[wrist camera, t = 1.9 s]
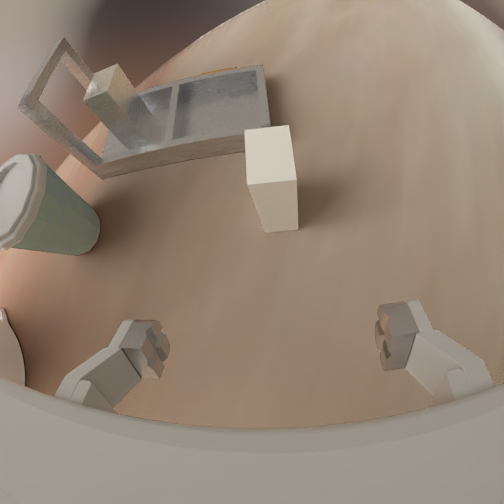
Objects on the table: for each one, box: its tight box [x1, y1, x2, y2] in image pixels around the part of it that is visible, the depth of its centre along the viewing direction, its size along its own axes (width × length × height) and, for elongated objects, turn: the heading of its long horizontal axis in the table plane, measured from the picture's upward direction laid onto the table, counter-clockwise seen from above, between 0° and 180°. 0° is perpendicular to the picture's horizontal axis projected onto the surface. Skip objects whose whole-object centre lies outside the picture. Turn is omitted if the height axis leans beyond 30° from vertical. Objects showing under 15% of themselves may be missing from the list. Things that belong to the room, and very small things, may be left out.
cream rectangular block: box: [244, 125, 298, 233], centre depth 26 cm, size 4×5×11 cm
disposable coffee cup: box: [0, 153, 100, 256], centre depth 28 cm, size 11×11×15 cm
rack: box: [18, 38, 271, 179], centre depth 28 cm, size 24×12×18 cm, turn 94°
